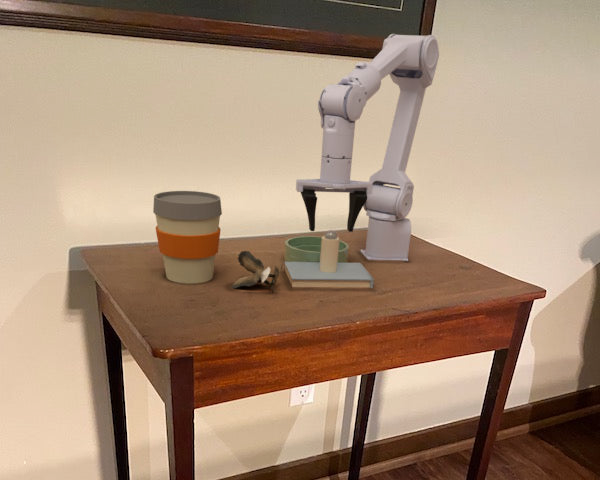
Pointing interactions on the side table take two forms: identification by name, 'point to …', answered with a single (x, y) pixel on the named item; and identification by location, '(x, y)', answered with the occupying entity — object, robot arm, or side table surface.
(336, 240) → the shaker
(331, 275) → the book
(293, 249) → the bowl
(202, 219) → the reusable coffee cup
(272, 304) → the side table surface
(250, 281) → the eagle figurine
